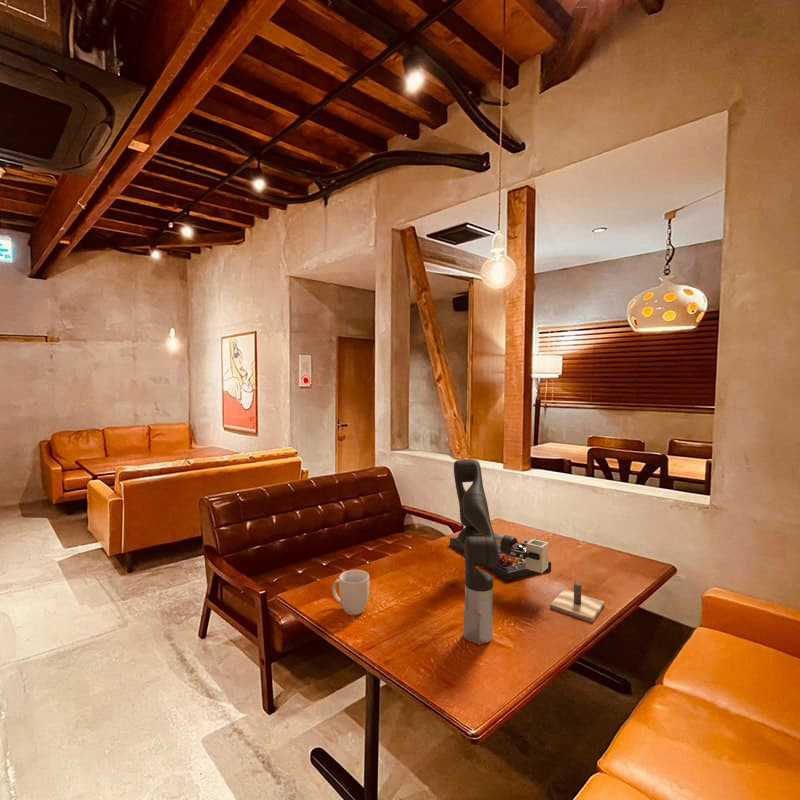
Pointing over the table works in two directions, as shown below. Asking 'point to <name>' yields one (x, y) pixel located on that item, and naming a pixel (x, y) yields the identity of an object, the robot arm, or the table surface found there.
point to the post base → (577, 604)
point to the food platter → (504, 564)
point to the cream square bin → (542, 550)
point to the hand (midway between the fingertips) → (543, 554)
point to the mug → (352, 591)
